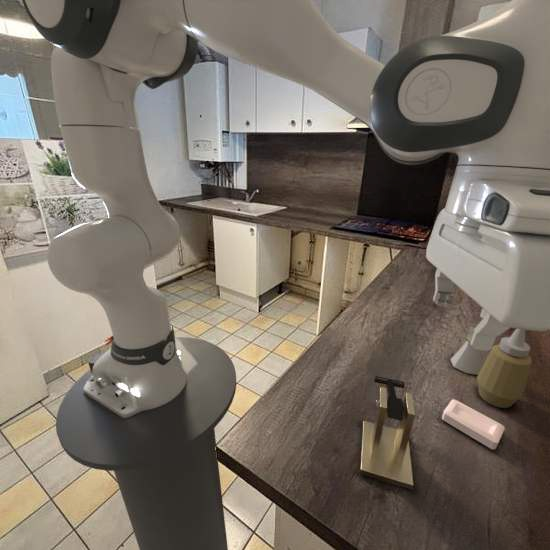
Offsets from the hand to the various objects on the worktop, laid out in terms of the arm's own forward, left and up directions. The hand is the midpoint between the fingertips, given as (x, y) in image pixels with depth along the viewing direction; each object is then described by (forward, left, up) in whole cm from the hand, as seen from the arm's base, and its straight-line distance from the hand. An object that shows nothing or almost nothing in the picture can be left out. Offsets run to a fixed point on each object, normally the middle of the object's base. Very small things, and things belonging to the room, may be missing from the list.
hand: (456, 322), depth 33 cm
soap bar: (+13, +17, -31) cm, 38 cm away
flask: (+17, +37, -31) cm, 51 cm away
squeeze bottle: (+20, +27, -31) cm, 46 cm away
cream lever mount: (-3, +6, -31) cm, 32 cm away
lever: (-3, +10, -23) cm, 25 cm away
